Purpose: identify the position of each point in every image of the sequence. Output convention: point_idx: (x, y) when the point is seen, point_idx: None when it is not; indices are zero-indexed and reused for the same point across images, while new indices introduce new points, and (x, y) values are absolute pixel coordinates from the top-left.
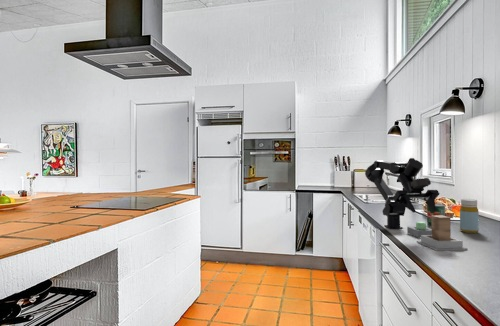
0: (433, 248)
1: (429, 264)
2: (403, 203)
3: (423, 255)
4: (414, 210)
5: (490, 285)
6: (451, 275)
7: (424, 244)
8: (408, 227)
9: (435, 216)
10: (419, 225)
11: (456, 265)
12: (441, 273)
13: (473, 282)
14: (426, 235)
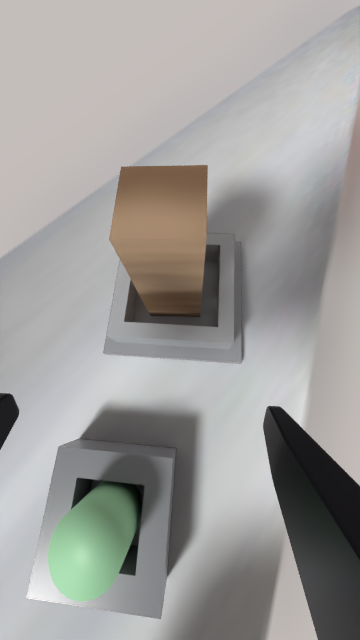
0: (240, 259)
1: (344, 149)
2: None
3: (317, 211)
4: (283, 412)
5: (287, 61)
6: (332, 96)
7: (240, 309)
8: (162, 596)
9: (202, 204)
10: (123, 516)
11: (274, 139)
12: (348, 105)
13: (310, 71)
14: (207, 334)
